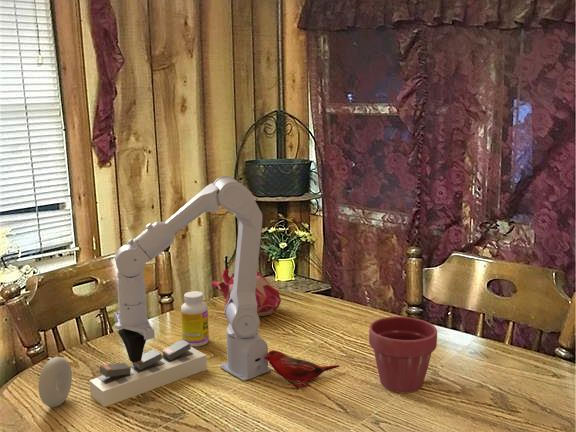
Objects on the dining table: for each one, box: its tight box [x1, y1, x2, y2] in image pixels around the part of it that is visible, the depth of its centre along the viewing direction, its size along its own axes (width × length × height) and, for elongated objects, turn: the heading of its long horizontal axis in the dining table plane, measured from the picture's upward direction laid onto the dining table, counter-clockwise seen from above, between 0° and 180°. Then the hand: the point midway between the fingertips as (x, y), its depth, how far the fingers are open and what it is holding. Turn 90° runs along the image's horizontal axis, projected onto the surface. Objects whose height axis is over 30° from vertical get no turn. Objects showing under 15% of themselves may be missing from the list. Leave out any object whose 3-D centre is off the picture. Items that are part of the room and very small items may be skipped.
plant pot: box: [368, 316, 438, 394], centre depth 133 cm, size 14×14×13 cm
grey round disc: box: [38, 356, 73, 408], centre depth 127 cm, size 10×4×10 cm, turn 173°
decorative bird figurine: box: [263, 350, 340, 388], centre depth 137 cm, size 3×18×10 cm
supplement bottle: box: [180, 290, 210, 348], centre depth 156 cm, size 7×7×13 cm
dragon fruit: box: [211, 268, 282, 318], centre depth 175 cm, size 14×12×20 cm
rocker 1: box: [98, 362, 131, 377], centre depth 132 cm, size 3×6×2 cm, turn 131°
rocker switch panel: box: [88, 347, 208, 408], centre depth 136 cm, size 6×25×4 cm, turn 131°
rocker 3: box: [161, 339, 191, 360], centre depth 141 cm, size 3×6×2 cm, turn 131°
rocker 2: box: [132, 349, 162, 370], centre depth 137 cm, size 3×6×2 cm, turn 131°
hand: (135, 360), depth 135 cm, fingers closed, pressing on rocker 2
